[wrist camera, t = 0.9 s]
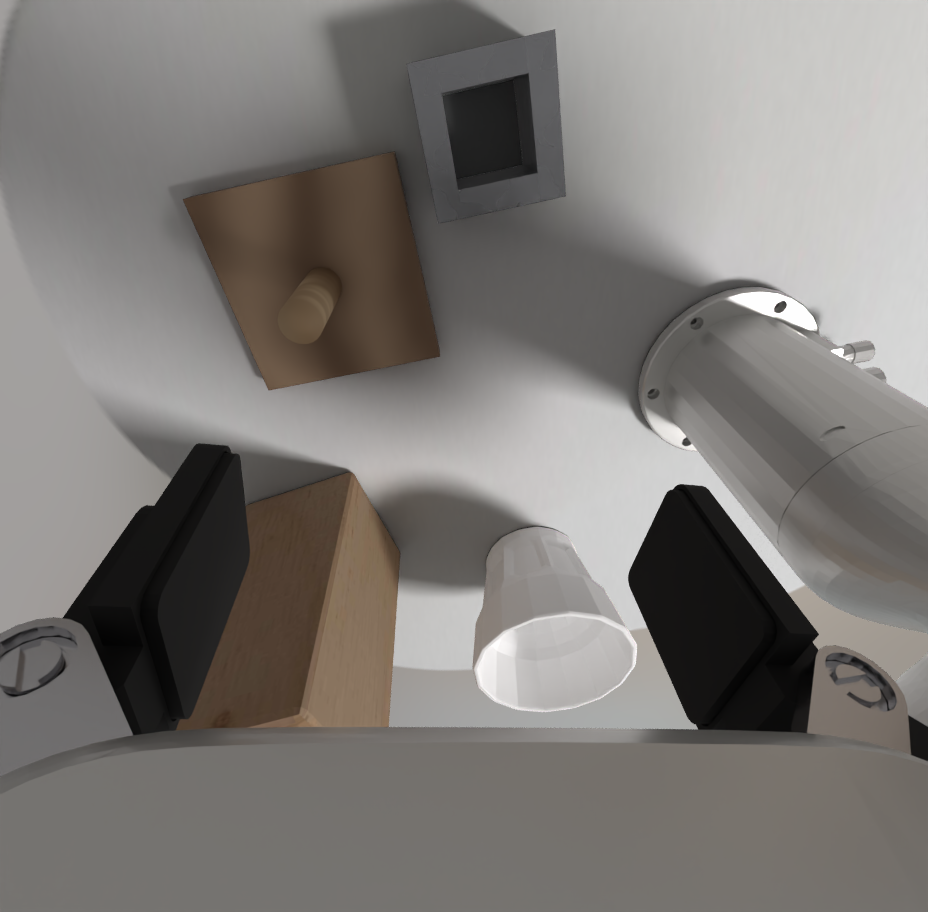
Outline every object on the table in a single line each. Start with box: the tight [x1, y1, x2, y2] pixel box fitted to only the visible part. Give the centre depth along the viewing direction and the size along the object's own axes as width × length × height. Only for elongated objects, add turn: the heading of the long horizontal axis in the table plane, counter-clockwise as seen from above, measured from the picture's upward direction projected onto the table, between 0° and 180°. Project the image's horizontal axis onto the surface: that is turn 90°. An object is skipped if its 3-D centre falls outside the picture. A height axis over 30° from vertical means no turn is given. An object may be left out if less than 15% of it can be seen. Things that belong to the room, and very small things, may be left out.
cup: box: [473, 527, 637, 712], centre depth 43 cm, size 12×12×11 cm
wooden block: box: [176, 472, 400, 731], centre depth 35 cm, size 10×10×20 cm
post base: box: [183, 151, 440, 390], centre depth 29 cm, size 12×12×8 cm
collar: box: [407, 29, 566, 223], centre depth 26 cm, size 7×7×5 cm
